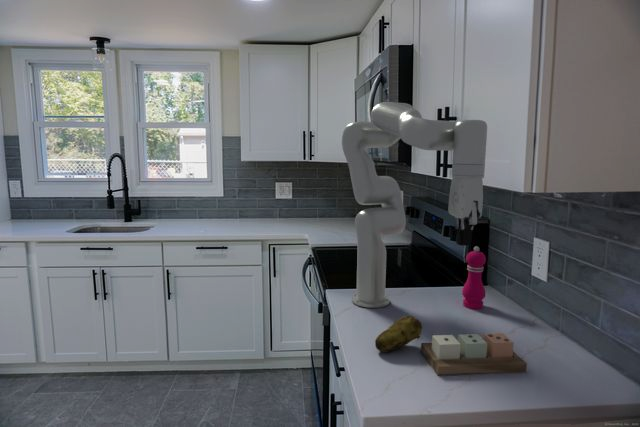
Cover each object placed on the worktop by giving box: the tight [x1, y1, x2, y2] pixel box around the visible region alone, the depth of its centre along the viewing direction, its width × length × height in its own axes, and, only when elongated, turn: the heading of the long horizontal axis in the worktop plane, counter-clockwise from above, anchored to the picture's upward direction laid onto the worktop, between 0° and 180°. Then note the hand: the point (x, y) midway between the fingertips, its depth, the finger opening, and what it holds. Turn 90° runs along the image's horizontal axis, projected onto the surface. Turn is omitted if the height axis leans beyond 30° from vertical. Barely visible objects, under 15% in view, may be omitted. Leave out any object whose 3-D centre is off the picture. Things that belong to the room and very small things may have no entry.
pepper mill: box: [461, 246, 487, 310], centre depth 138 cm, size 7×7×20 cm
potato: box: [375, 315, 423, 353], centre depth 109 cm, size 8×13×8 cm, turn 98°
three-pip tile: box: [482, 333, 515, 358], centre depth 103 cm, size 5×5×4 cm
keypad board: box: [420, 341, 528, 377], centre depth 103 cm, size 12×21×2 cm, turn 95°
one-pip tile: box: [431, 334, 461, 360], centre depth 102 cm, size 5×5×4 cm
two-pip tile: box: [457, 333, 487, 359], centre depth 102 cm, size 5×5×4 cm
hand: (463, 244), depth 107 cm, fingers closed
